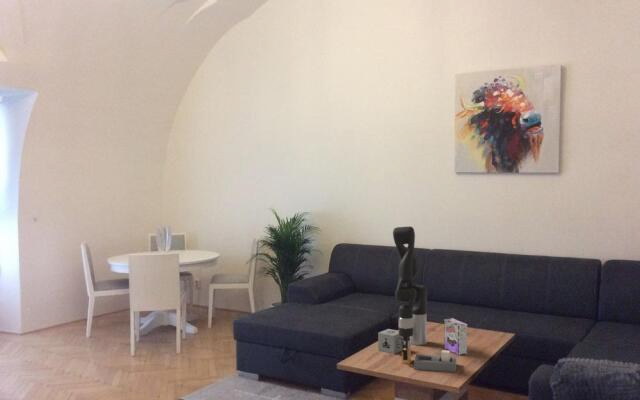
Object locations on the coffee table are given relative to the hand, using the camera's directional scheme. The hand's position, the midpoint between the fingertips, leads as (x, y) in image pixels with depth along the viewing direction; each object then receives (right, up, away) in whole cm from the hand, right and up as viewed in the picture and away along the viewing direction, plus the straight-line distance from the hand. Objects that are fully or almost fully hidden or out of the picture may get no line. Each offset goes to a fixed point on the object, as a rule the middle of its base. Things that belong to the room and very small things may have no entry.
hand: (406, 357), depth 297 cm
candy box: (+29, -2, +17) cm, 34 cm away
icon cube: (-5, -2, +21) cm, 21 cm away
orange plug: (0, -3, 0) cm, 3 cm away
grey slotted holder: (+13, -3, -8) cm, 16 cm away
